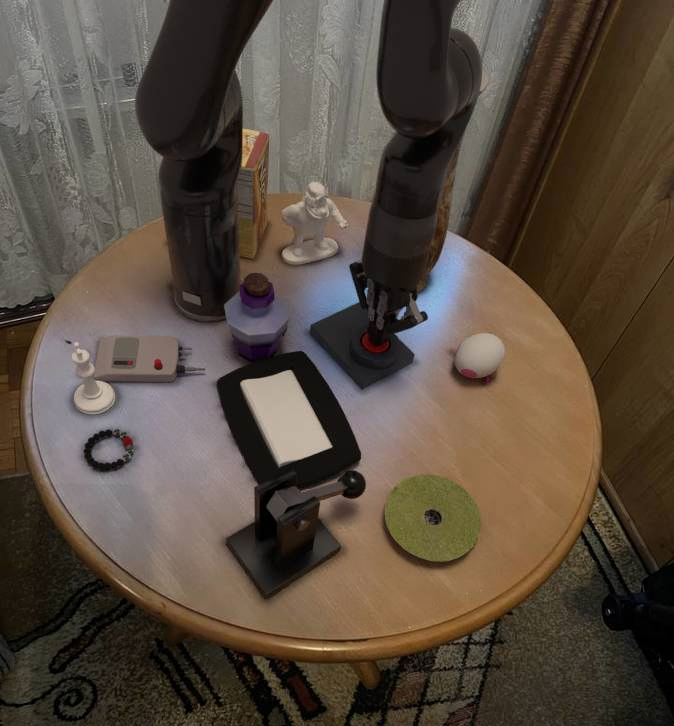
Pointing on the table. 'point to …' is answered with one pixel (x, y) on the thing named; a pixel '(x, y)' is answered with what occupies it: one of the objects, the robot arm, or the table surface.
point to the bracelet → (107, 466)
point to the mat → (432, 517)
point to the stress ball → (479, 355)
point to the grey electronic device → (139, 359)
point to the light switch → (287, 419)
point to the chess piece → (90, 386)
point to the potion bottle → (257, 318)
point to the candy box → (252, 191)
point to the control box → (358, 346)
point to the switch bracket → (282, 539)
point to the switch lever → (317, 493)
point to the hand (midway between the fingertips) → (377, 341)
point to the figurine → (311, 226)
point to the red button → (371, 348)
